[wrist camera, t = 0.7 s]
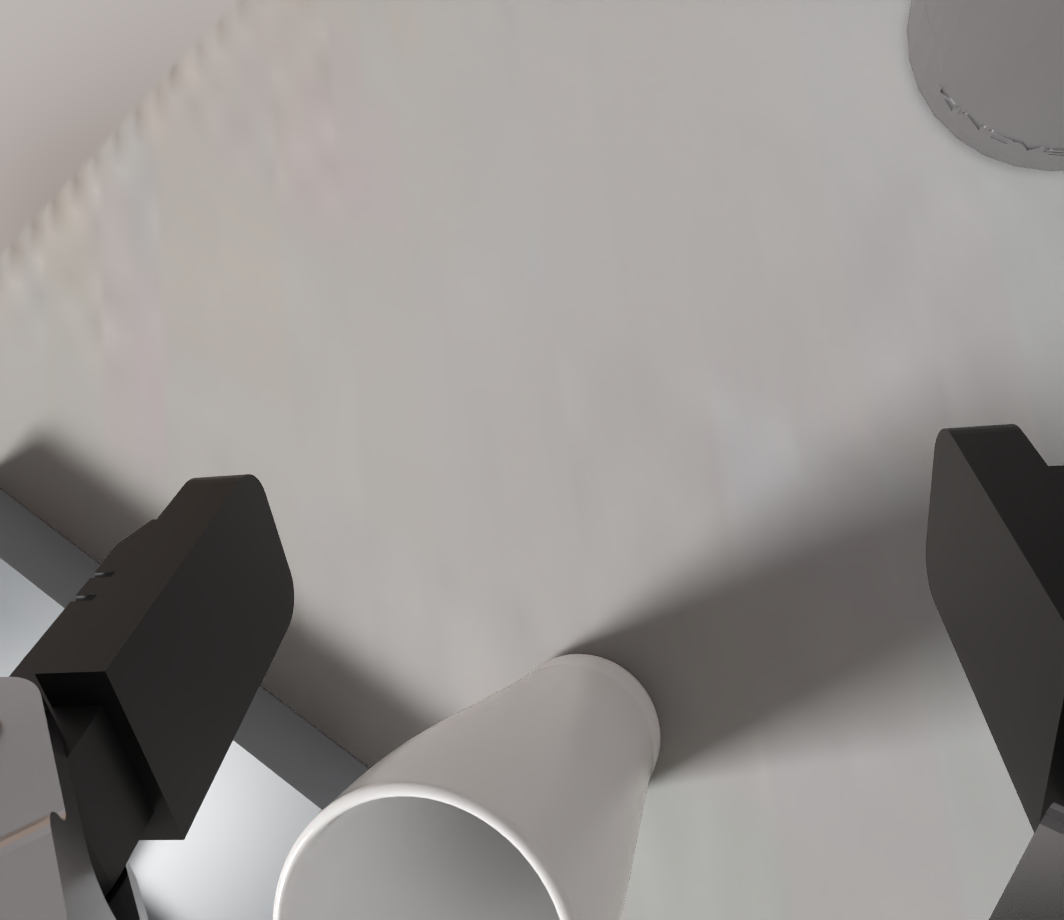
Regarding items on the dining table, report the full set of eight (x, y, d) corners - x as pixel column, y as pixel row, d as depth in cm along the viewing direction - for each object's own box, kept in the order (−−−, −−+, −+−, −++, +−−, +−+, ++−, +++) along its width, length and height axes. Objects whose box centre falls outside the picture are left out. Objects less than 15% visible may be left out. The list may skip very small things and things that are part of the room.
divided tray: (-18, 475, 40) (-100, 479, 36) (471, 846, 34) (431, 895, 30) (-138, 730, 42) (-228, 758, 38) (302, 1119, 36) (246, 1195, 33)
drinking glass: (568, 589, 33) (385, 707, 18) (725, 717, 31) (660, 955, 17) (459, 733, 34) (208, 948, 20) (605, 862, 33) (450, 1197, 18)
